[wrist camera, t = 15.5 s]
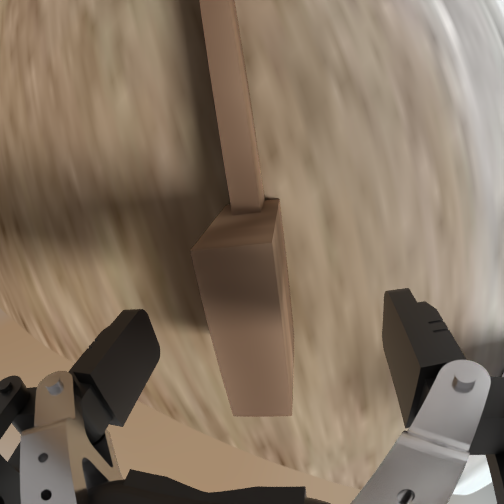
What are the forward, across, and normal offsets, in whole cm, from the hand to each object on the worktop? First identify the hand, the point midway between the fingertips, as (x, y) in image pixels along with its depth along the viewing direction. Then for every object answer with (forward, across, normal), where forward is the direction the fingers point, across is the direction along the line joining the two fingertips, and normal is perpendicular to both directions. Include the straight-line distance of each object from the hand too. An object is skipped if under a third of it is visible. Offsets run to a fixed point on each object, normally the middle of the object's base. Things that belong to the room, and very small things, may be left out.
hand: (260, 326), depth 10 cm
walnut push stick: (+7, +1, -9) cm, 11 cm away
